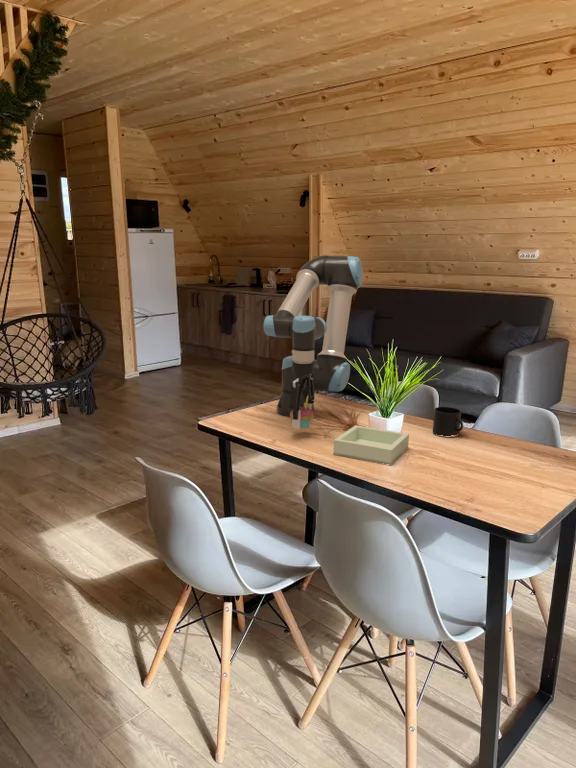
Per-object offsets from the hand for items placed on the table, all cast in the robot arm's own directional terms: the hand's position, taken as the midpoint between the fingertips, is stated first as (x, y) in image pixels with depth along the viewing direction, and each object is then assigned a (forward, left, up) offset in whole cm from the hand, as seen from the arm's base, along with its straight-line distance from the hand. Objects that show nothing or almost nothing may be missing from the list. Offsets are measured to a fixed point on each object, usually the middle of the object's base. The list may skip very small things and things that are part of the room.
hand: (301, 424), depth 214 cm
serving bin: (+3, +27, -4) cm, 28 cm away
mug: (-30, +45, -5) cm, 54 cm away
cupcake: (0, 0, -1) cm, 1 cm away
